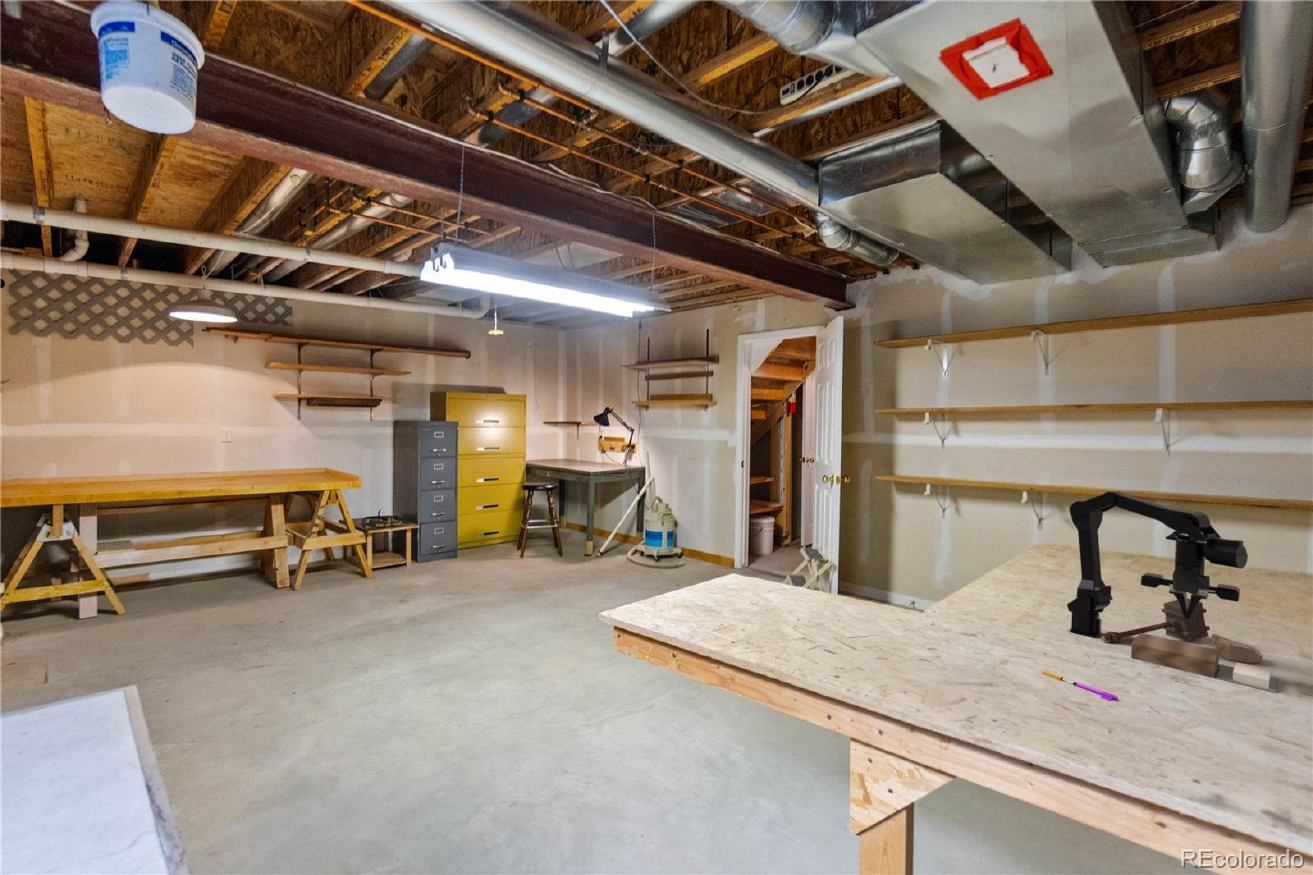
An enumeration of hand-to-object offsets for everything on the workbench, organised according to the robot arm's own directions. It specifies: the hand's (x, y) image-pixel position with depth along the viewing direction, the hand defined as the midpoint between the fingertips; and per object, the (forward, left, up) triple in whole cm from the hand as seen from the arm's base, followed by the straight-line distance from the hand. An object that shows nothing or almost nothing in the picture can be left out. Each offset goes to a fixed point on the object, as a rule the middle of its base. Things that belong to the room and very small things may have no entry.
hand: (1187, 618), depth 151 cm
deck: (-2, 0, -12) cm, 12 cm away
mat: (+11, 0, -12) cm, 16 cm away
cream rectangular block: (+12, -1, -10) cm, 15 cm away
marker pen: (-15, -39, -13) cm, 44 cm away
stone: (+8, +16, -12) cm, 22 cm away
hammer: (-9, +16, -12) cm, 22 cm away
